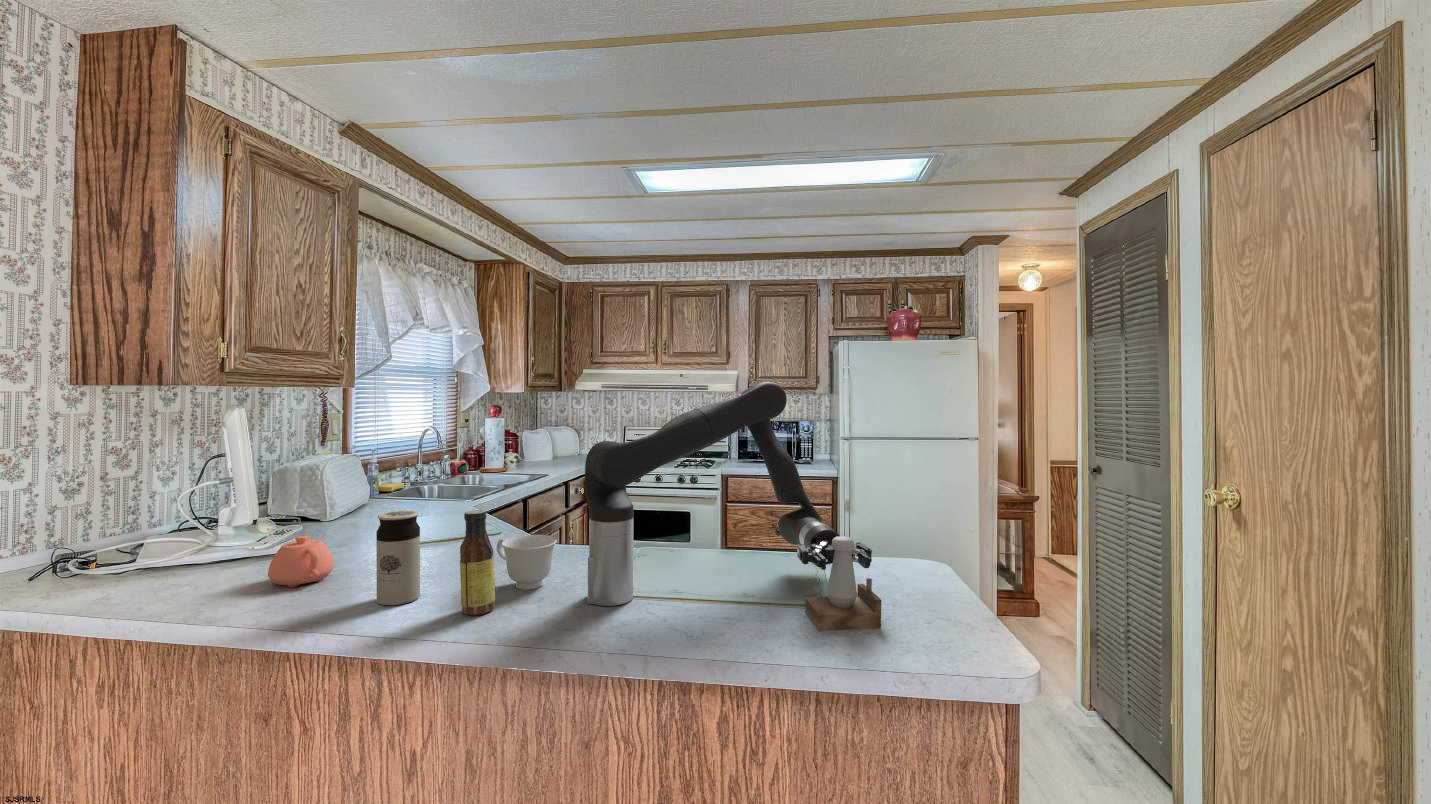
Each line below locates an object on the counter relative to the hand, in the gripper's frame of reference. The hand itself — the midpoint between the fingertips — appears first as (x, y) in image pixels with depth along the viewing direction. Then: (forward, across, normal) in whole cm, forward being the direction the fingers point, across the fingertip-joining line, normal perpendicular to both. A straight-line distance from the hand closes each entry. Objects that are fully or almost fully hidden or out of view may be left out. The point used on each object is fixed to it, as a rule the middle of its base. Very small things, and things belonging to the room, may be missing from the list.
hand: (846, 564), depth 110 cm
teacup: (-29, -65, +12) cm, 72 cm away
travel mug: (-22, -89, +12) cm, 92 cm away
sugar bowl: (-36, -115, +12) cm, 121 cm away
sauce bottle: (-14, -71, +12) cm, 73 cm away
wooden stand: (-2, 0, +12) cm, 12 cm away
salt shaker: (-2, 0, +9) cm, 9 cm away
